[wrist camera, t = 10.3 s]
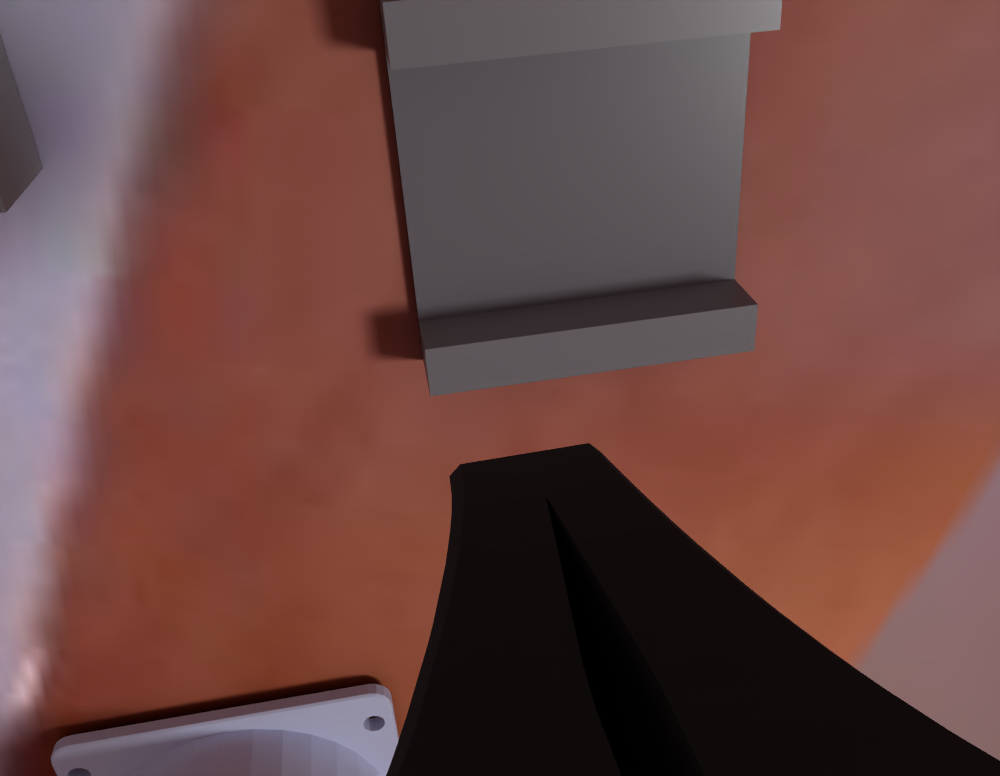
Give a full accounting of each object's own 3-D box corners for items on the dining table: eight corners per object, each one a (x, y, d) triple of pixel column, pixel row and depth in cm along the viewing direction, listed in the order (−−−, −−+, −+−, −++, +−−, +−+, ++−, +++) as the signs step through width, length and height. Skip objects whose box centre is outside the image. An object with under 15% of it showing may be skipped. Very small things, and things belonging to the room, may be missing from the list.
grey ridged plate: (727, 319, 20) (753, 350, 19) (423, 361, 19) (430, 395, 18) (750, -47, 16) (785, -37, 15) (377, -11, 16) (382, 2, 14)
